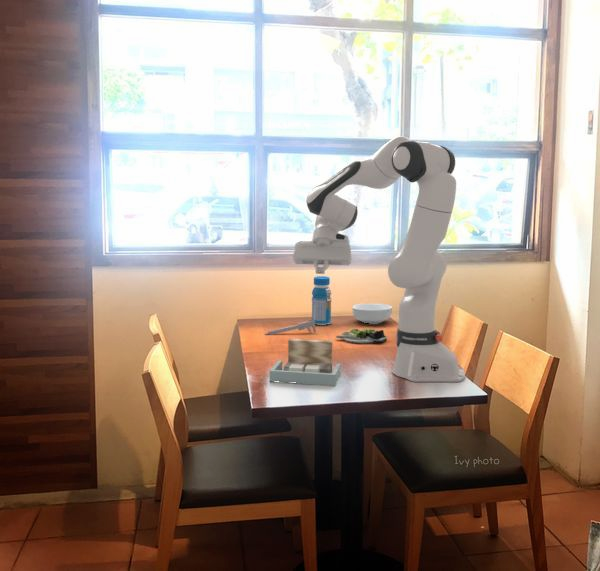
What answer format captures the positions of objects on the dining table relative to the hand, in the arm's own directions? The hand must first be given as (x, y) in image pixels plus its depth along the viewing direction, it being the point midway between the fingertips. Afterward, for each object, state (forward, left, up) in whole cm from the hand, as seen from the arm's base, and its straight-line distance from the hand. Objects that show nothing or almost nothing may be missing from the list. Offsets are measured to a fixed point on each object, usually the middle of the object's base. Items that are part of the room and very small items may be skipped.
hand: (319, 272), depth 219 cm
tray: (0, +25, -29) cm, 39 cm away
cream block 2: (-2, +26, -29) cm, 39 cm away
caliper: (+17, -31, -30) cm, 47 cm away
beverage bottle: (+8, -52, -30) cm, 60 cm away
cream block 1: (+3, +26, -29) cm, 39 cm away
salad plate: (-13, -29, -30) cm, 43 cm away
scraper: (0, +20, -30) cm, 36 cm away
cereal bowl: (-13, -58, -30) cm, 67 cm away
